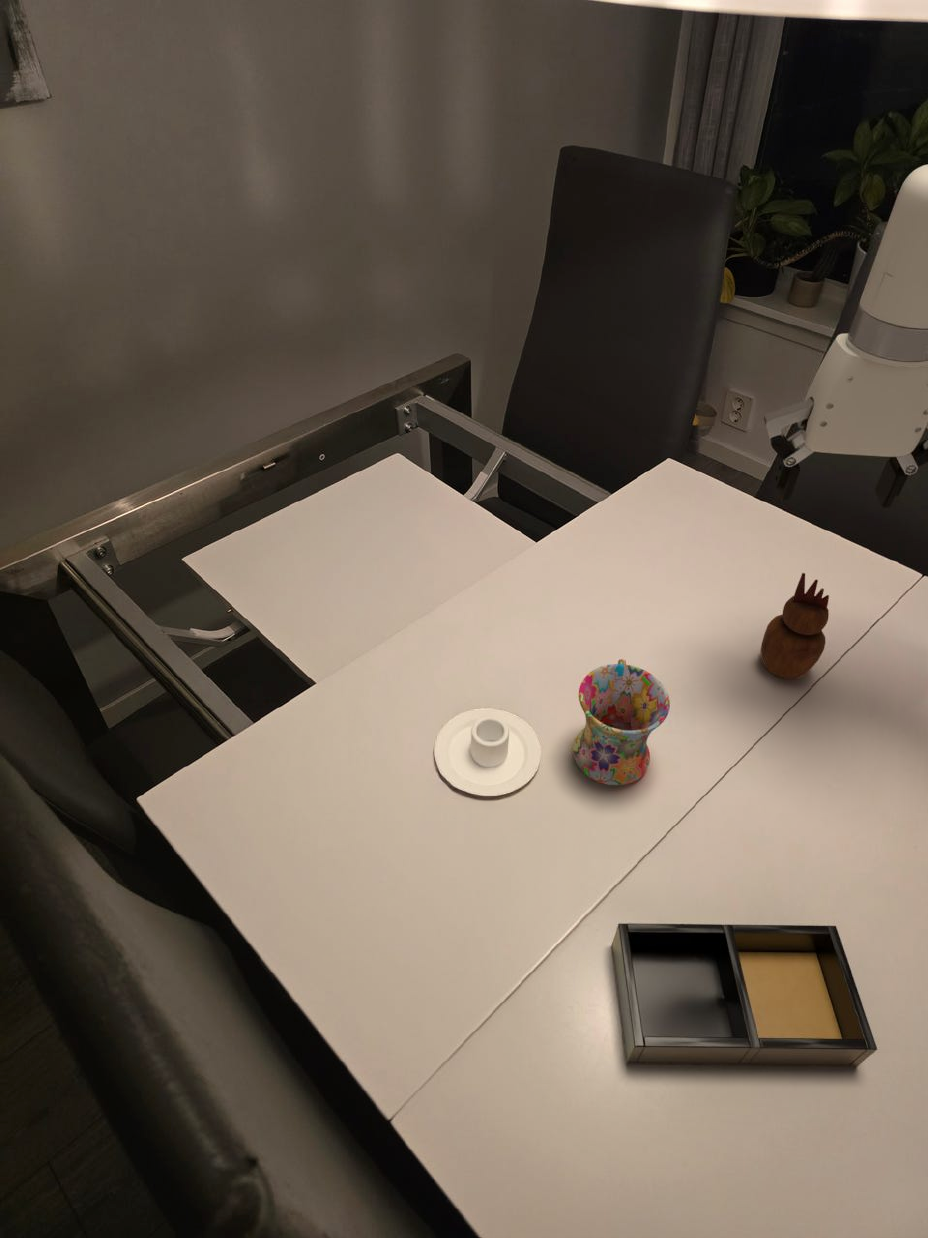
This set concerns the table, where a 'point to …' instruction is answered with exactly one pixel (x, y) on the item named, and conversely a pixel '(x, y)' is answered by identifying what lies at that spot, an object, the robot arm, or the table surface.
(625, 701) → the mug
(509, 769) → the candle holder
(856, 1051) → the divided tray
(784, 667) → the wooden figurine
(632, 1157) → the table surface
